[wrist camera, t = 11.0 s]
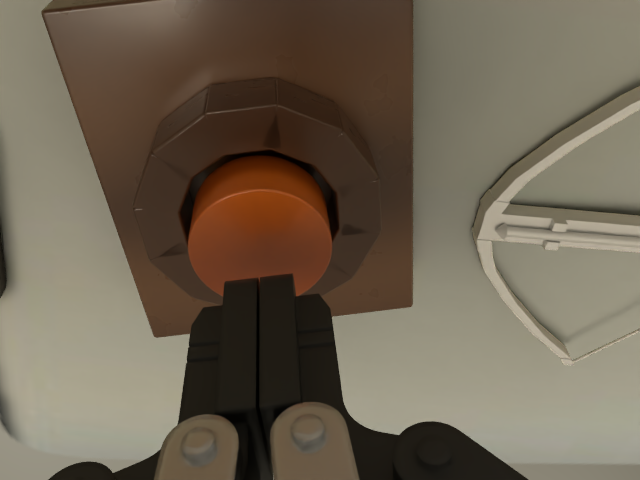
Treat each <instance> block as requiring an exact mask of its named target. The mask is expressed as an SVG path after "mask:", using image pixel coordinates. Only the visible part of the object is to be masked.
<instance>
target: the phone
mask: <svg viewBox="0 0 640 480" xmlns="http://www.w3.org/2000/svg"><path fill="white" fill-rule="evenodd" d="M5 288H6V275H5V267H4V258H3V250H2V242H1V234H0V298H1V296H2V294H3V292H4V290H5Z"/></svg>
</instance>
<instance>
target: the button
mask: <svg viewBox="0 0 640 480" xmlns="http://www.w3.org/2000/svg"><path fill="white" fill-rule="evenodd" d="M188 254H189V259H190V262H191V265H192V267H193V269H194V271H195V272H196V274H197V275H198V277H199V278H200V279H201V281H202V282H203V283H204V284H205V285H206V286H208V287H209V288H210V289H211V290H213V291H214V292H216V293H218V294H219V295H221V296H223V292H224V283H225V281H233V280H241V279H249V278H258V279H259V282H260V277H265V276H273V275H282V274H290V273H293V277H294V284H295V290H296V296H299V295H301V294H303V293H304V292H306V291H307V290H309V289H310V288H311V287H312V286H313V285H315V284H316V283H317V281H318V280H319V279H320V278H321V277H322V275H323V274H324V272H325V271H326V269H327V267H328V265H329V262H330V259H331V255H332V237H331V231H330V225H329V219H328V213H327V207H326V201H325V197H324V194H323V192H322V190H321V188H320V186H319V185H318V183H317V182H316V180H315V179H314V178H313V177H312V176H311V175H310V174H309V173H308V172H307V171H305V170H304V169H303V168H301V167H300V166H298V165H296V164H295V163H292V162H290V161H288V160H285V159H282V158H278V157H273V156H264V155H255V156H247V157H241V158H238V159H235V160H232V161H230V162H227V163H225V164H224V165H222V166H220V167H219V168H217V169H216V170H214V171H213V172H212V173H211V174H210V175H209V176H208V177H207V178H206V179H205V180H204V182H203V183H202V185H201V186H200V188H199V190H198V192H197V195H196V198H195V201H194V208H193V214H192V220H191V226H190V232H189V238H188Z"/></svg>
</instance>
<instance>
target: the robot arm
mask: <svg viewBox="0 0 640 480" xmlns="http://www.w3.org/2000/svg"><path fill="white" fill-rule="evenodd" d="M273 475H274V480H528V479H527V478H525V477H524V476H522V475H521V474H520V473H518V472H517V471H515V470H514V469H513V468H511V467H510V466H509V465H507V464H506V463H504V462H503V461H501V460H500V459H499V458H497V457H496V456H494V455H493V454H492V453H490V452H489V451H487V450H486V449H485V448H483V447H482V446H480V445H479V444H478V443H476V442H475V441H473V440H472V439H471V438H469V437H468V436H466V435H465V434H464V433H462V432H461V431H459V430H458V429H456V428H454V427H452V426H450V425H448V424H444V423H441V422H421V423H417V424H414V425H412V426H410V427H408V428H407V429H405V430H404V431H403V432H402V433H401V434H400V435H394V434H388V433H383V432H378V431H374V430H371V429H368V428H366V427H364V426H362V425H360V424H359V423H358V422H356V421H355V420H354V419H353V418H352V417H351V416H350V415H349V413H348V412H347V410H346V408H345V406H344V402H343V397H342V390H341V383H340V375H339V368H338V361H337V353H336V346H335V339H334V331H333V324H332V317H331V309H330V307H329V306H328V305H327V303H326V302H325V301H324V300H323V298H322V297H321V296H320V294H319V293H318V294H310V295H302V296H296V290H295V284H294V277H293V273H290V274H282V275H273V276H265V277H260V282H259V279H258V278H249V279H241V280H233V281H225V283H224V292H223V305H219V306H211V307H203V309H202V310H201V312H200V313H199V315H198V316H197V318H196V319H195V321H194V322H193V324H192V325H191V333H190V340H189V348H188V355H187V363H186V370H185V377H184V385H183V392H182V399H181V407H180V414H179V421H178V425H177V426H176V427H175V428H174V429H173V430H172V431H171V432H170V433H169V434H168V435H167V437H166V438H165V440H164V442H163V445H162V447H161V449H160V450H159V451H158V452H157V453H155V454H154V455H152V456H151V457H149V458H147V459H145V460H143V461H141V462H139V463H136V464H134V465H132V466H129V467H127V468H124V469H122V470H120V471H117V472H115V473H112V471H111V470H110V469H109V468H108V467H107V466H105V465H103V464H100V463H97V462H81V463H77V464H73V465H71V466H68V467H66V468H64V469H62V470H61V471H59V472H58V473H56V474H55V475H53V476H52V477H51V478H50V479H49V480H273Z"/></svg>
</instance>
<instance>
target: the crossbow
mask: <svg viewBox="0 0 640 480" xmlns="http://www.w3.org/2000/svg"><path fill="white" fill-rule="evenodd" d="M639 109H640V86H639V87H637V88H635V89H633V90H631V91H629V92H627V93H625V94H623V95H621V96H619V97H617V98H616V99H614V100H612V101H611V102H609V103H607V104H606V105H604V106H602V107H601V108H599V109H597V110H596V111H594V112H593V113H591V114H589V115H588V116H586V117H584V118H583V119H581V120H579V121H578V122H576V123H574V124H573V125H571V126H569V127H568V128H566V129H564V130H563V131H561V132H559V133H558V134H556V135H555V136H554V137H552V138H551V139H549V140H548V141H547V142H545V143H544V144H543V145H541V146H540V147H538V148H537V149H536V150H534V151H533V152H532V153H530V154H529V155H528V156H526V157H525V158H523V159H522V160H521V161H519V162H518V163H517V164H515V165H514V166H512V167H511V168H510V169H509V170H508V171H507V172H506V173H505V174H504V175H503V176H502V177H501V179H500V180H499V181H498V182H497V183H496V184H495V185H494V186H493V187H492V188H491V189H488V191H487V192H486V193H485V195H484V196H483V197H482V198H481V200H480V202H481V203H480V206H479V210H478V213H477V216H476V219H475V223H474V226H473V227H472V233H473V239H474V242H475V245H476V247H477V250H478V254H479V258H480V261H481V264H482V266H483V269H484V272H485V273H486V275H487V276H488V278H489V279H490V281H491V282H492V284H493V285H494V287H495V289H496V290H497V292H498V293H499V295H500V296H501V298H502V299H503V301H504V302H505V304H506V305H507V306H508V307H509V308H510V309H511V310H512V311H513V313H514V314H515V315H516V316H517V317H518V318H519V319H520V321H521V322H522V323H523V324H524V325H525V326H526V327H527V329H528V330H529V331H530V332H531V333H532V334H533V335H534V336H535V337H536V338H538V339H539V340H540V341H541V342H542V343H544V344H545V345H546V346H547V347H548V348H549V349H551V350H552V351H553V352H554V353H555V354H556V355H558V356H559V357H560V358H561V361H562V363H563V365H574V364H573V363H574V362H577V361H579V360H581V359H583V358H585V357H587V356H589V355H591V354H594V353H596V352H598V351H600V350H602V349H604V348H606V347H608V346H610V345H613V344H615V343H617V342H619V341H621V340H623V339H625V338H627V337H629V336H632V335H634V334H636V333H638V332H640V329H638V330H636V331H633V332H631V333H629V334H627V335H625V336H623V337H621V338H619V339H617V340H614V341H612V342H610V343H608V344H606V345H604V346H602V347H600V348H598V349H595V350H593V351H591V352H589V353H587V354H585V355H583V356H581V357H579V358H576V359H574V360H572V359H571V357H570V355H569V353H568V351H567V349H566V347H565V345H564V344H562V343H561V342H560V341H559V340H558V339H557V338H556V337H554V336H553V335H552V334H551V333H550V332H549V331H547V330H546V329H545V328H544V327H543V326H542V325H541V324H539V323H538V322H537V321H536V319H535V318H534V317H533V316H532V315H531V314H530V312H529V311H528V310H527V309H526V308H525V307H524V305H523V304H522V303H521V302H520V301H519V300H518V298H517V297H516V296H515V295H514V294H513V293H512V291H511V290H510V288H509V287H508V285H507V284H506V282H505V281H504V279H503V277H502V276H501V274H500V273H499V271H498V269H497V268H496V266H495V264H494V260H493V255H492V252H493V248H492V240H493V241H505V242H517V243H529V244H541V245H543V247H544V249H547V250H558V248H559V246H565V247H577V248H589V249H601V250H613V251H625V252H637V253H640V216H638V215H626V214H615V213H604V212H592V211H581V210H570V209H558V208H547V207H536V206H525V205H513V204H510V203H509V201H510V200H511V199H512V198H513V197H514V196H515V195H516V194H517V193H518V192H519V191H520V190H521V189H522V187H523V186H524V185H525V184H526V183H527V182H528V181H529V180H530V179H532V178H533V177H535V176H536V175H538V174H539V173H540V172H542V171H543V170H545V169H546V168H547V167H549V166H550V165H552V164H553V163H554V162H556V161H557V160H559V159H560V158H561V157H563V156H564V155H566V154H567V153H569V152H570V151H571V150H573V149H574V148H576V147H577V146H578V145H580V144H582V143H583V142H585V141H587V140H589V139H590V138H592V137H594V136H595V135H597V134H599V133H600V132H602V131H604V130H605V129H607V128H609V127H611V126H612V125H614V124H616V123H617V122H619V121H621V120H622V119H624V118H626V117H627V116H629V115H631V114H633V113H634V112H636V111H638V110H639Z"/></svg>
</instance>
